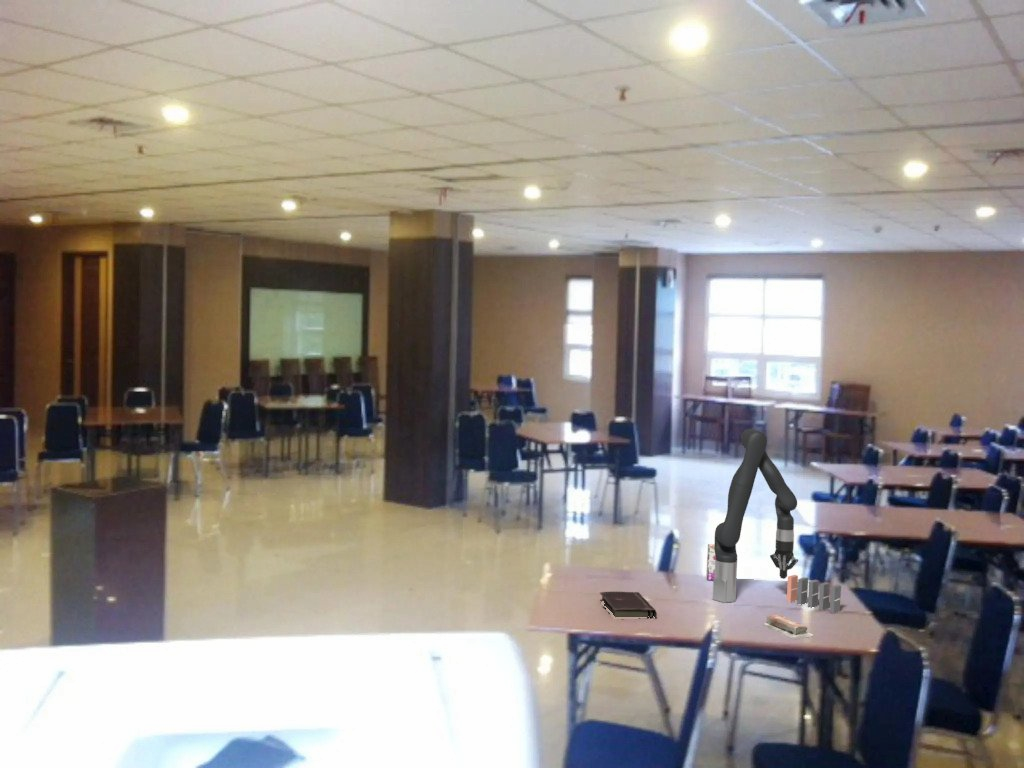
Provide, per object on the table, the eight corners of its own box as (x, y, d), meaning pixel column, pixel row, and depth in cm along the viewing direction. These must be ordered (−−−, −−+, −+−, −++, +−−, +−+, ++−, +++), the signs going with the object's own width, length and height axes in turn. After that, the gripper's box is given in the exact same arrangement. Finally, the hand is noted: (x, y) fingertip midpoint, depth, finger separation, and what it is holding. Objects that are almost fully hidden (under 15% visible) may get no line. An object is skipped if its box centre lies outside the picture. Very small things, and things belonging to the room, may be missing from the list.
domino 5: (839, 611, 397) (841, 585, 396) (833, 613, 393) (835, 587, 393) (835, 610, 398) (836, 584, 398) (829, 612, 395) (830, 586, 394)
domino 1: (797, 600, 411) (798, 575, 411) (790, 602, 408) (791, 577, 407) (793, 599, 413) (794, 574, 412) (786, 601, 409) (787, 576, 409)
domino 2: (807, 603, 408) (808, 578, 407) (801, 605, 404) (802, 580, 404) (803, 602, 409) (804, 577, 408) (797, 604, 406) (798, 579, 405)
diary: (639, 602, 405) (640, 591, 405) (656, 621, 381) (657, 608, 380) (597, 602, 403) (597, 591, 403) (611, 621, 378) (611, 608, 378)
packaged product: (762, 614, 375) (782, 612, 380) (761, 626, 376) (781, 623, 380) (793, 628, 359) (814, 625, 363) (793, 640, 359) (813, 637, 364)
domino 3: (817, 605, 404) (819, 580, 404) (811, 608, 401) (812, 582, 400) (813, 604, 406) (815, 579, 405) (807, 607, 402) (808, 581, 401)
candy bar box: (707, 580, 440) (708, 546, 439) (706, 578, 445) (707, 543, 444) (731, 582, 439) (733, 547, 438) (730, 579, 444) (731, 544, 443)
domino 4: (828, 608, 401) (830, 583, 400) (822, 611, 397) (823, 585, 396) (824, 607, 402) (825, 582, 401) (818, 609, 398) (819, 584, 398)
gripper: (766, 537, 414) (765, 576, 415) (794, 542, 405) (792, 582, 406) (775, 535, 419) (774, 573, 421) (803, 540, 410) (801, 579, 411)
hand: (783, 578), depth 413 cm, fingers closed
